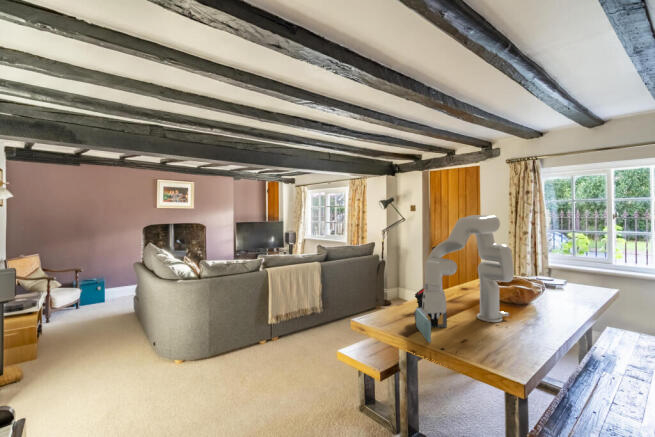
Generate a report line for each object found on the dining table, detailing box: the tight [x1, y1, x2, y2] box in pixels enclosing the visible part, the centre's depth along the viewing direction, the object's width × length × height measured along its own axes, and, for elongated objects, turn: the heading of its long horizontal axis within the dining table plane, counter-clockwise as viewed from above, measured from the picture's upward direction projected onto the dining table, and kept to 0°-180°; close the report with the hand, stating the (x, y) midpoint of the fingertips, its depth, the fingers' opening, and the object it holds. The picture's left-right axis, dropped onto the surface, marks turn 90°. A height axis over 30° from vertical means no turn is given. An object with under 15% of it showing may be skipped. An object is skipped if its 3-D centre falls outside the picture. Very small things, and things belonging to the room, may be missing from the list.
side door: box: [415, 307, 432, 343], centre depth 149 cm, size 20×2×10 cm, turn 0°
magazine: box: [414, 288, 425, 308], centre depth 183 cm, size 4×13×15 cm, turn 113°
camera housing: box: [413, 308, 448, 329], centre depth 161 cm, size 15×7×8 cm, turn 85°
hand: (434, 326), depth 141 cm, fingers closed
